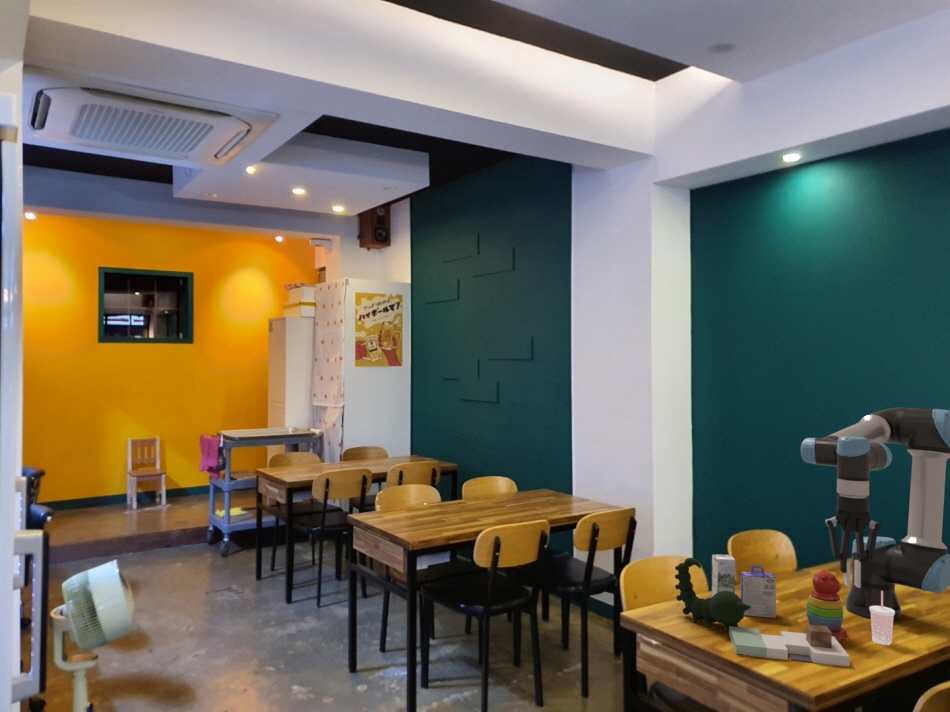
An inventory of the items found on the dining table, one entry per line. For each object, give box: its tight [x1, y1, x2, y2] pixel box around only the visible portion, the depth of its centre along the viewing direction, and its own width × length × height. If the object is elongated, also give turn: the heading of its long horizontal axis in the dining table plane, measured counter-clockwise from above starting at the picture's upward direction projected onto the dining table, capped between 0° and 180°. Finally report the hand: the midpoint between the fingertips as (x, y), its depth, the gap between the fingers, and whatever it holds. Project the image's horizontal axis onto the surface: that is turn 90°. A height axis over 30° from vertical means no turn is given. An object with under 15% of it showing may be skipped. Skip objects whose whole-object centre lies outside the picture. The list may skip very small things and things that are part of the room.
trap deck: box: [728, 626, 850, 667], centre depth 184 cm, size 27×14×2 cm, turn 77°
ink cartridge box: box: [740, 564, 777, 619], centre depth 212 cm, size 10×6×14 cm, turn 78°
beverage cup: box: [869, 591, 895, 646], centre depth 192 cm, size 6×6×14 cm
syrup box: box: [710, 554, 736, 598], centre depth 224 cm, size 6×6×14 cm
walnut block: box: [805, 623, 832, 648], centre depth 182 cm, size 5×5×4 cm
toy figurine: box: [674, 557, 750, 633], centre depth 202 cm, size 9×19×25 cm
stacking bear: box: [805, 569, 848, 645], centre depth 196 cm, size 11×10×18 cm
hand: (852, 585), depth 181 cm, fingers open, 2 cm apart
